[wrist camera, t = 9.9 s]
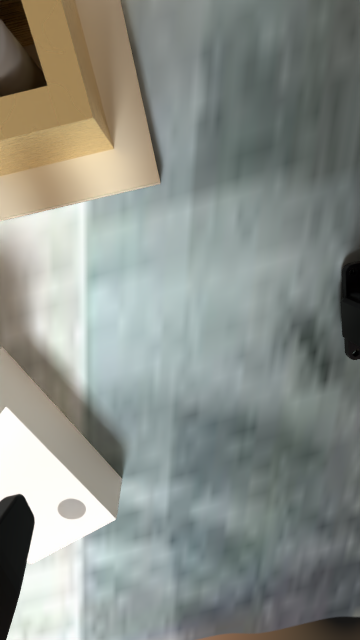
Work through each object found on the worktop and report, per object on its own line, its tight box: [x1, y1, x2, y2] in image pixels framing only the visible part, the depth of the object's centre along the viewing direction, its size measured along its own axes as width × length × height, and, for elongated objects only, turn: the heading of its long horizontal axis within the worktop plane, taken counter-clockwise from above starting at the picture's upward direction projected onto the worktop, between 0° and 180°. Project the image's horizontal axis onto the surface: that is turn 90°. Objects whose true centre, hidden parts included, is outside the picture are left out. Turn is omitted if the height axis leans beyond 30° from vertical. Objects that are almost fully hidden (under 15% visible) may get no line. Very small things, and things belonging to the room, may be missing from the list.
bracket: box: [0, 347, 122, 565], centre depth 18 cm, size 13×7×8 cm, turn 32°
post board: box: [0, 0, 160, 221], centre depth 12 cm, size 10×10×6 cm
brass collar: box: [0, 0, 114, 176], centre depth 12 cm, size 6×6×5 cm
